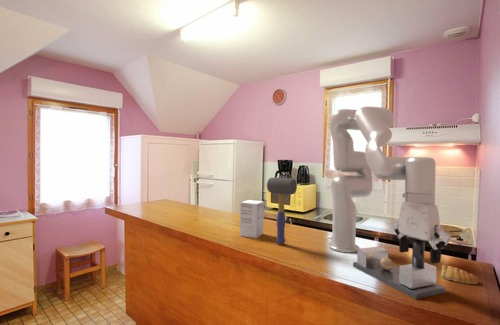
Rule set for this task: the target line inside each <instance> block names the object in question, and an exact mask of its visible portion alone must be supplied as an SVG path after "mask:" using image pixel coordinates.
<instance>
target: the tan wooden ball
mask: <svg viewBox="0 0 500 325" xmlns="http://www.w3.org/2000/svg"><path fill="white" fill-rule="evenodd" d="M380 265H381V267H382V268H383V269H384V270H391V269H392V268H393V266H395V265H394V262H393V260H392V259H391V258H389V257H388V258H383V259H381V261H380Z"/></svg>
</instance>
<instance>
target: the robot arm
mask: <svg viewBox="0 0 500 325" xmlns="http://www.w3.org/2000/svg"><path fill="white" fill-rule="evenodd" d="M394 120H395V117H394V114H393V112H392V110H390V109H389V108H387V107H380V106H362V107H360V108H359V109H348V108H345V109H338V110H336V111H334V112H333V113H332V115H331V117H330V121H329V131H330V135H331V139H332V148H333V150H332V151H333V167H334V169H335V171H336V172H339V173H351V174H352V173H353V174H354V173H355V175H346V174H344V175H337V176H335V177H334V178H333V179H332V180H331V183H330V189H331V196H332V233H331V234H330V235H328V238H329V239H330V242H328V248H329V249H331V250H333V251H337V252H341V253H350V254H351V253H357V251H358V249H360V246H359V245H357V244H356V233H357V231H356V230H357V229H356V227H357V208H356V204H355V202H354V200H353V199H352V198H367V197H369V196H370V195H371V194H372V192H373V175H374V176H375V177H376V178H377V179H379V180H382V181H404V192H403V193H402V198H404V201H402V202H401V205H400V211H399V215H398V220H396V221H395V222H394V221H393V222H392V227H393V229H394V232H395V234H396V236H397V237H396V238H398V239H399V246H398V249H399V250H398V251H399V253H408V252H409V250H410V249H409V246H410V240H409V238H412V239H413V238H416V239H419V240H423V241H425V242H428V244H429V245H430V246H431V248H430V250H429V263H430V264H431V265H436V264H440V263H441V260H442V250H443V249H444V248H445V247H446V246H448V245H449V243H450V241H451V240H452V236H451V235H450V234H449V233H448V232H446V231H445V230H444V229H443V228H441V221H440V213H439V208H438V205H436V170H437V168H436V166H437V165H436V161H435V159H434V158H433V157H426V156H424V157H422V156H416V157H415V156H412V157H407V156H404V157H403V156H386V155H385V154H384V152H383V151H382V149H381V148H382V147H383V146H385V145H386V144H388V143H389V142H390V141H391V140H392V137H393V132H392V130H391V129H390V128H391V127H392V126H393V124H394ZM348 130H350V131H351V130H353V131H360V132H361V134H362V135H363V137H364V139H365V140H366V142H367V144H366V147H365V150H364V151H358V150H357V151H356V150H354V149H355V148H354V140H353V137H352V135H351V134H350V132H348ZM440 236H441V240H440Z"/></svg>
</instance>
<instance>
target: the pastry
mask: <svg viewBox="0 0 500 325" xmlns="http://www.w3.org/2000/svg"><path fill="white" fill-rule="evenodd" d="M440 277H441V278H443V279H445V280H446V281H447V280H448V281H453V283H454V282H456V283H460V284H465V285H477V284H478V282H479V280H478V276H475V275H474V274H473V273H469V271H466V270H464V269H460V268H459V267H454V266H451V265H448V266H447V265H445V264H442V267H441V274H440Z"/></svg>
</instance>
